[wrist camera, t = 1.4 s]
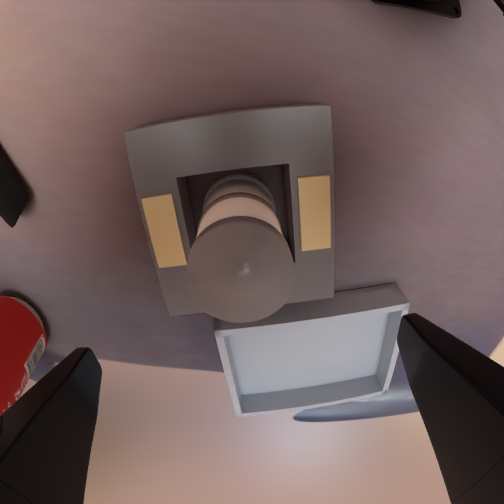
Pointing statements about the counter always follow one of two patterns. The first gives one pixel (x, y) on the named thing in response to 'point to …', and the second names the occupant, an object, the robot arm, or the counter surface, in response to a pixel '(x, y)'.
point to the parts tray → (313, 351)
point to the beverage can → (18, 347)
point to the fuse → (240, 253)
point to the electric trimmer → (10, 193)
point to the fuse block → (228, 158)
